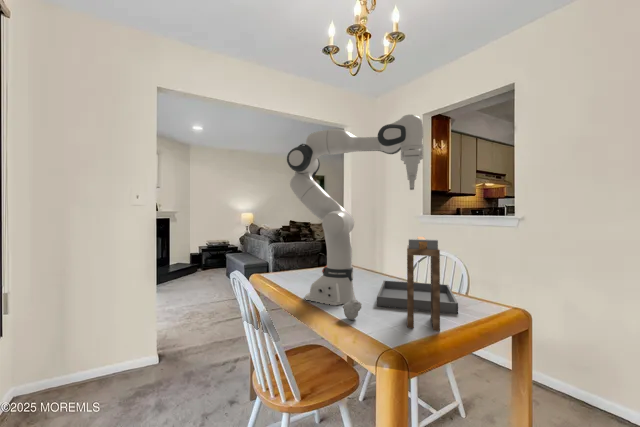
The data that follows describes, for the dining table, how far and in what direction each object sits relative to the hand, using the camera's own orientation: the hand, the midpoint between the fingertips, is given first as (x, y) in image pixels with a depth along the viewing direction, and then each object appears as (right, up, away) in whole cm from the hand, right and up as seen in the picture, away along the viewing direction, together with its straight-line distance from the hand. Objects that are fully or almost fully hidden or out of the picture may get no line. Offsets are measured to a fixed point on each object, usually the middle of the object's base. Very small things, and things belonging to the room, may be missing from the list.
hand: (411, 188), depth 117 cm
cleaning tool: (-1, -22, -13) cm, 26 cm away
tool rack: (-2, -48, -18) cm, 51 cm away
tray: (+4, -48, +9) cm, 49 cm away
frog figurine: (-26, -48, -15) cm, 57 cm away
